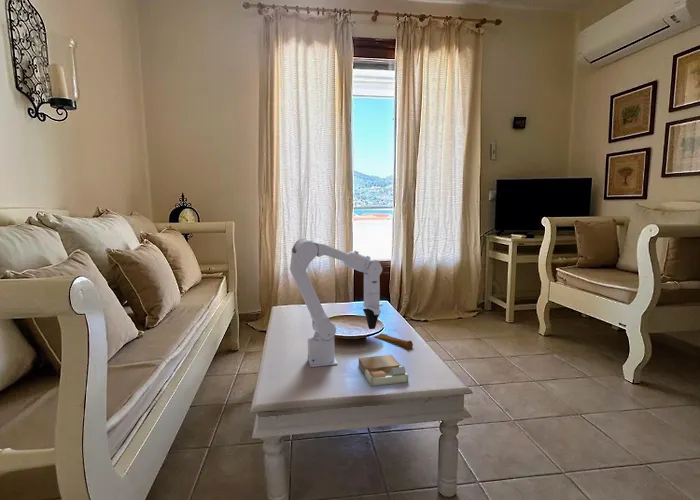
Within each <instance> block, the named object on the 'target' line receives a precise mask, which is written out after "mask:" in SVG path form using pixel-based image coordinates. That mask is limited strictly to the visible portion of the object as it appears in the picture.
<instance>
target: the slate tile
mask: <svg viewBox="0 0 700 500" xmlns="http://www.w3.org/2000/svg"><path fill="white" fill-rule="evenodd" d="M405 373H407V372H406V367H405V366H401V367H396V368H392V369H391V370H390V372H389V374H390V376H393V375H402V374H405Z"/></svg>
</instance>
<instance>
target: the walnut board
mask: <svg viewBox="0 0 700 500" xmlns="http://www.w3.org/2000/svg"><path fill="white" fill-rule="evenodd" d="M399 366H401V367H402V365H401V364H400V362H399V361H398V359H396V358H395V357H394V356H393V354H385V355H375V356H374V355H373V356H366V357H364V356H363V357H358V367H359V368H360V370H361V371H362V373H363V375H364V376H365V369H368V371H369V372H373V371H383V372H385V373H389V372H390V370H391V369H392V368H396V367H399Z"/></svg>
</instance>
